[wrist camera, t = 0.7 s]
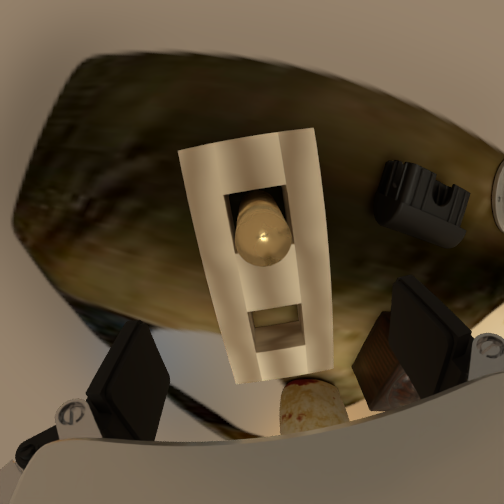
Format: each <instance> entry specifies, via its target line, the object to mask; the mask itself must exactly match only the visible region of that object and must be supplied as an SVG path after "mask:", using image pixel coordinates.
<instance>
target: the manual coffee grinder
mask: <svg viewBox="0 0 504 504" xmlns="http://www.w3.org/2000/svg"><path fill="white" fill-rule="evenodd" d="M390 317H391V312H382V313H381V315H380V316H379V317H378V319H377V320H376V322H375V324H374V326H373V328H372V329H371V331H370V333H369V335H368V337H367V339H366V341H365V342H364V344H363V346H362V348H361V350H360V352H359V354H358V356H357V358H356V360H355V362H354V364H353V365H352V369H353V371H354V373H355V376H356V378H357V380H358V383H359V385H360V388H361V390H362V392H363V395H364V397H365V400H366V402H367V405H368V407H369V409H370V410H371V411H389V410H392V409H395V408H398V407H401V406H404V405H407V404H410V403H413V402H416V401H418V400H421V398H420V396H419V395H418V393H417V391H416V389H415V388H414V386H413V384H412V383H411V381H410V379H409V378H408V376H407V374H406V373H405V371H404V369H403V368H402V366H401V364H400V363H399V361H398V359H397V358H396V356H395V355H394V353H393V351H392V350H391V348H390V346H389V342H388V337H389V328H390Z"/></svg>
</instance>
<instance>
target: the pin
mask: <svg viewBox="0 0 504 504" xmlns="http://www.w3.org/2000/svg"><path fill="white" fill-rule="evenodd" d="M291 242H292V236H291V231H290V229H289V227H288V225H287V223H286V221H285V219H284V217H283V215H282V213H281V211H280V209H279V207H278V205H277V204H276V202H275V200H274V198H273V197H272V196H271V195H270V194H269V193H267V192H265V191H262V190H254V191H251V192H249V193H247V194H246V195H245V196H244V197H243V198H242V200H241V202H240V205H239V212H238V219H237V226H236V233H235V246H236V249H237V251H238V253H239V255H240V256H241V257H242V258H243V259H244V260H245V261H246V262H248V263H250V264H252V265H255V266H260V267H266V266H271V265H274V264H276V263H278V262H280V261H281V260H282V259H283V258H284V257H285V256H286V255H287V253H288V252H289V250H290V247H291Z"/></svg>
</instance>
